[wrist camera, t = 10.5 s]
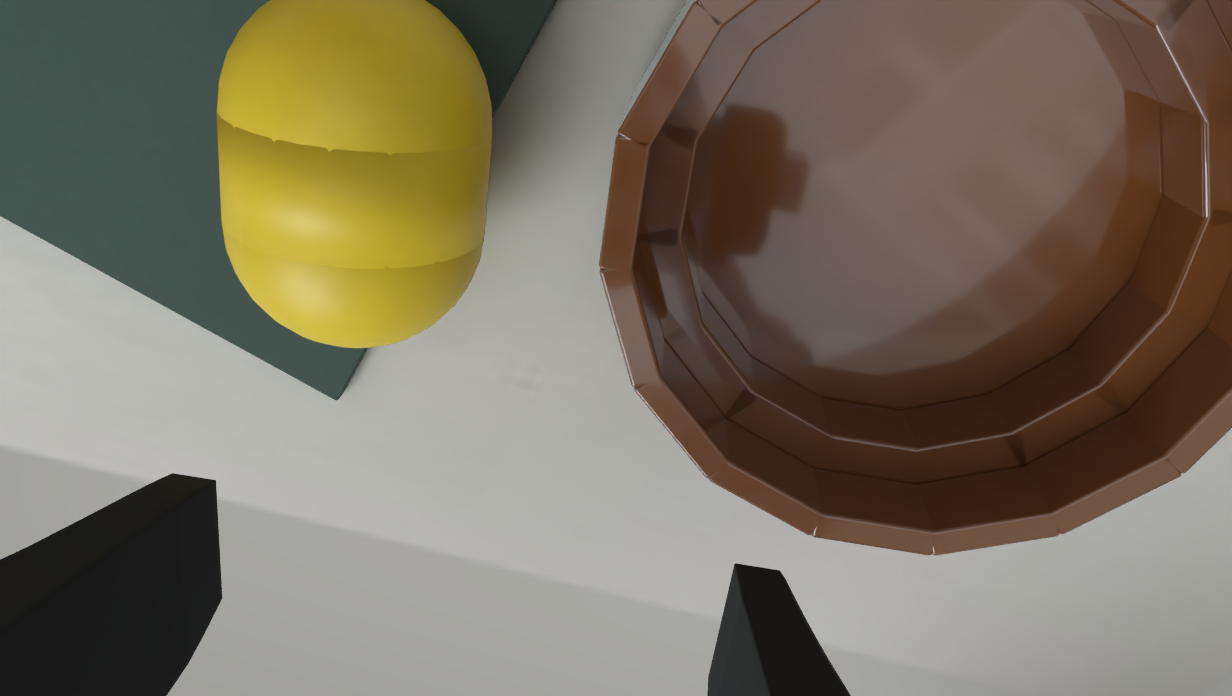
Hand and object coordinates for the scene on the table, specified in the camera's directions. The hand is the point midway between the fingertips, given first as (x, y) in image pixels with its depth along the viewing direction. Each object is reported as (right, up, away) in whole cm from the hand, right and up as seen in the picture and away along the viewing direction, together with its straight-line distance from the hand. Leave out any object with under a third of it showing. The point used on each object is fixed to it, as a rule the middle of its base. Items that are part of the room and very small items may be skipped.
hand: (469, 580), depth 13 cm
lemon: (-4, +7, +6) cm, 11 cm away
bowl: (+8, +6, +7) cm, 12 cm away
